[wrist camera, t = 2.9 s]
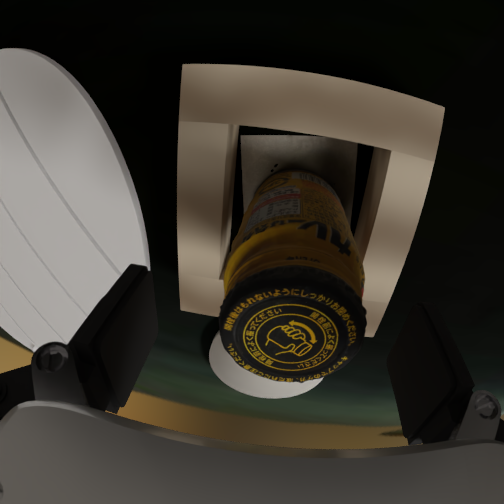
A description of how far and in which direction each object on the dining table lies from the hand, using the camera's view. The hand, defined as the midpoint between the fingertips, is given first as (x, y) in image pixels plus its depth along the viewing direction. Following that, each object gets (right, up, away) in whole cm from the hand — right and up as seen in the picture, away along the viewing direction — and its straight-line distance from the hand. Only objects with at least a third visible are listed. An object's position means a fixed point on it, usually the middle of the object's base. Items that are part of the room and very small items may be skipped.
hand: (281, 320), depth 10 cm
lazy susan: (-29, +5, +15) cm, 33 cm away
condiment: (+2, +6, +10) cm, 12 cm away
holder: (+2, +6, +10) cm, 11 cm away
